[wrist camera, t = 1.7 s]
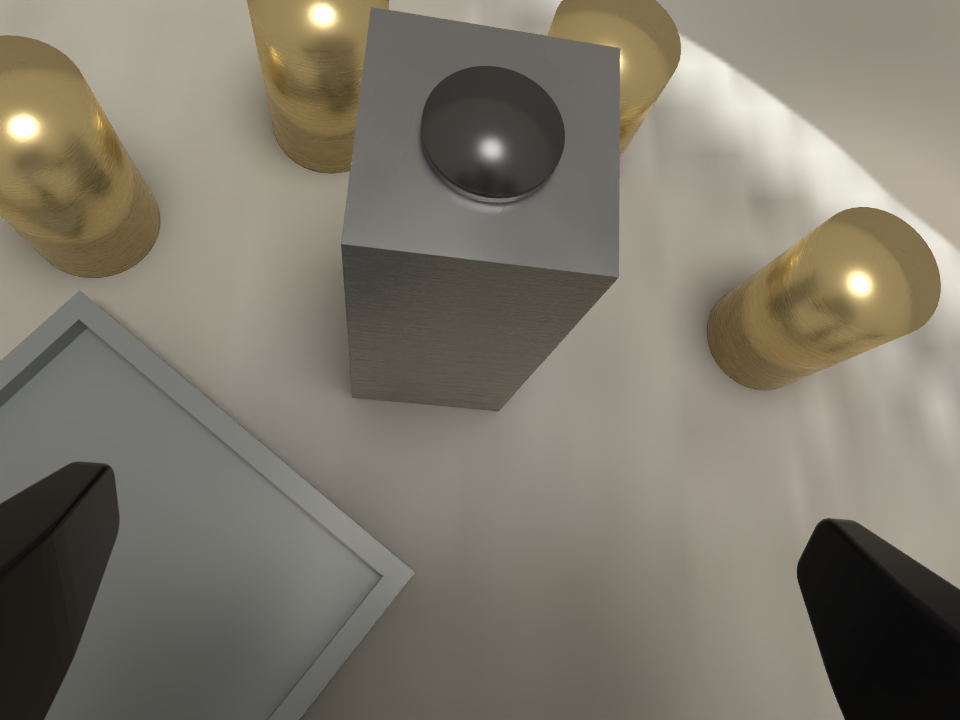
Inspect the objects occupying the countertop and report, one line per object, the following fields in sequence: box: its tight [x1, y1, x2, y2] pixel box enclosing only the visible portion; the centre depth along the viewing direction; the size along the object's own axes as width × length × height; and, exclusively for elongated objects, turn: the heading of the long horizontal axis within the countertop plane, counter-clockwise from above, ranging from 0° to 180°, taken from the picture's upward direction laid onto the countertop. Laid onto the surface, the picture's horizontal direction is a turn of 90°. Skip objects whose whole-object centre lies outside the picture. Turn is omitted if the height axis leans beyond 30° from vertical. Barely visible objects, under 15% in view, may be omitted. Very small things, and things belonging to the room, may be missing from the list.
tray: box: [0, 291, 415, 720], centre depth 18 cm, size 12×12×1 cm
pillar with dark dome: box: [341, 7, 620, 411], centre depth 17 cm, size 4×4×11 cm
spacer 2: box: [707, 207, 941, 390], centre depth 21 cm, size 4×4×6 cm
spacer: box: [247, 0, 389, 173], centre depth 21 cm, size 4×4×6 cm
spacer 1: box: [0, 36, 160, 278], centre depth 19 cm, size 4×4×6 cm
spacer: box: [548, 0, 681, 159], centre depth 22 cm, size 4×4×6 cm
